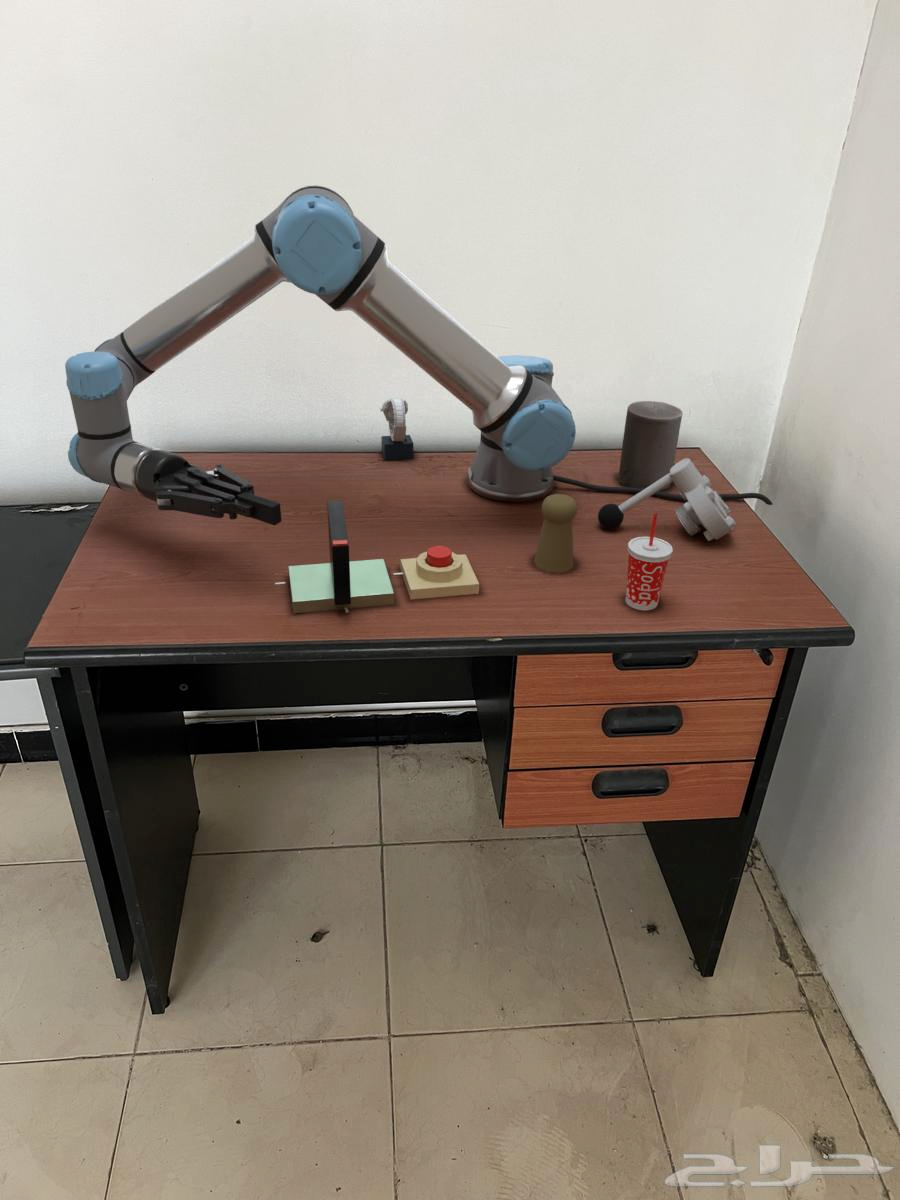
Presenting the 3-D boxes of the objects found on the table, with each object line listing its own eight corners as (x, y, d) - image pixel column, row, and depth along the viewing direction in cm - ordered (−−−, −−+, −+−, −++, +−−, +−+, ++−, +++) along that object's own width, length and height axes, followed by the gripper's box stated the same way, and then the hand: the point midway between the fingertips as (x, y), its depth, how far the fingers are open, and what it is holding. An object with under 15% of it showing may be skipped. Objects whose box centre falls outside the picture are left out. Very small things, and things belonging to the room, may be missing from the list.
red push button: (448, 555, 132) (449, 544, 131) (453, 567, 129) (454, 556, 128) (424, 557, 131) (424, 546, 130) (429, 569, 128) (429, 558, 127)
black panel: (329, 555, 133) (327, 499, 128) (344, 554, 133) (342, 498, 128) (334, 605, 121) (331, 544, 116) (351, 604, 122) (348, 544, 117)
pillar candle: (613, 487, 162) (623, 407, 154) (623, 467, 170) (633, 390, 162) (667, 496, 159) (680, 415, 151) (674, 475, 167) (688, 397, 159)
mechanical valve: (743, 535, 140) (691, 461, 136) (645, 594, 147) (593, 525, 142) (733, 512, 149) (684, 441, 145) (641, 568, 156) (592, 502, 152)
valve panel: (393, 556, 138) (393, 543, 136) (413, 619, 123) (414, 606, 121) (273, 565, 134) (272, 552, 133) (279, 631, 119) (278, 618, 118)
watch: (408, 446, 176) (408, 391, 170) (414, 462, 169) (415, 406, 163) (379, 447, 175) (378, 393, 169) (385, 463, 168) (384, 407, 162)
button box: (465, 563, 136) (466, 543, 134) (478, 593, 129) (480, 572, 127) (400, 568, 134) (400, 548, 132) (410, 599, 127) (410, 578, 125)
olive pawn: (547, 576, 134) (554, 509, 128) (526, 558, 138) (532, 493, 132) (581, 567, 136) (589, 502, 130) (559, 550, 141) (566, 486, 135)
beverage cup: (616, 608, 126) (628, 519, 119) (624, 587, 131) (636, 500, 124) (659, 617, 125) (675, 527, 117) (666, 596, 130) (681, 508, 122)
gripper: (191, 482, 138) (310, 521, 128) (124, 513, 129) (246, 558, 118) (184, 436, 134) (306, 472, 124) (115, 465, 125) (240, 506, 114)
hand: (277, 514), depth 121 cm, fingers closed
